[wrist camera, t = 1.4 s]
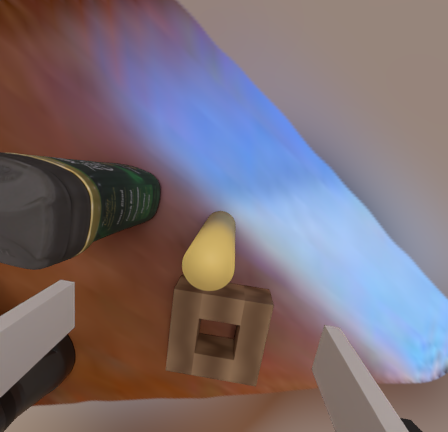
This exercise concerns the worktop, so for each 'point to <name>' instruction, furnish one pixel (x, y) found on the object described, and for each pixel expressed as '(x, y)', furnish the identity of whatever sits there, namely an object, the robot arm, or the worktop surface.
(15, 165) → the coffee jar
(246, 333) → the socket block
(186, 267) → the peg
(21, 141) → the worktop surface
